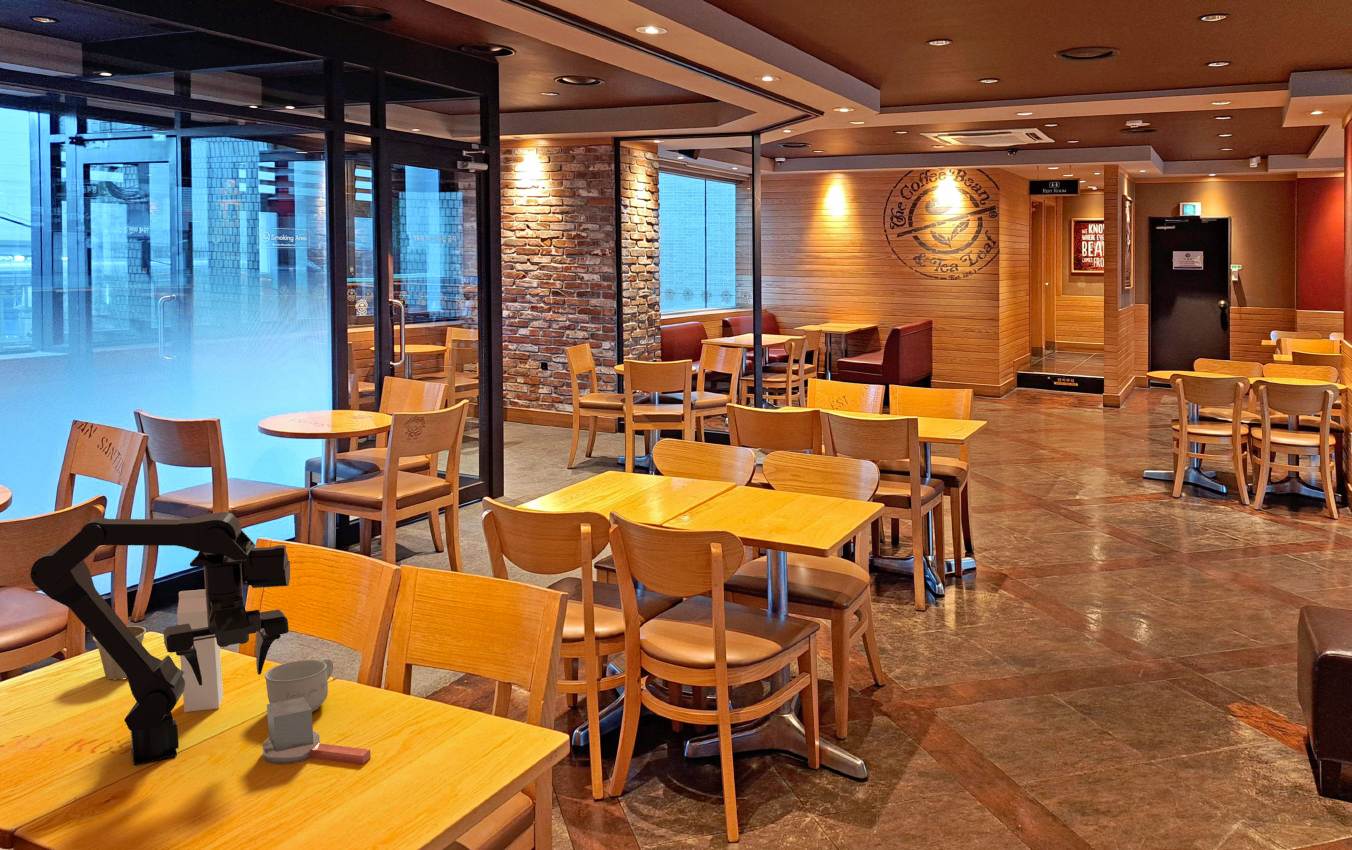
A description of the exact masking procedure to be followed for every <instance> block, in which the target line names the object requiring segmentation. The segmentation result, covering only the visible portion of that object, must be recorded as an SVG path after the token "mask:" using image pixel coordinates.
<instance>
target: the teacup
mask: <svg viewBox="0 0 1352 850" xmlns="http://www.w3.org/2000/svg"><path fill="white" fill-rule="evenodd" d="M333 672H334V663H333V661H332V659H331V658H329V657H321V658H319V659H318V660H317V659H301V660H292V661H288V662H284V663H281V664H277V665H275V666H273V667H271V668H269V669H268V670H267V671H265V673H264V679H265V683H266V684H265V685H266V692H267V699H268V702H269V703H268V704H272V703H277V702H282V701H287V700H292V699H297V698H302V697H304V698H305V700H306V701H307V703H308V704H309V706H310V708H311V709H312V713H313V712H315V711H316V710H318V709H319V708H320V707H321V705H322V704H323V703H324V702H325V701H326V699H327V697H328V695H329V693H328V692H329V685H328V684H329V682H328V681H329V680H330V677H331V676H332V674H333Z"/></svg>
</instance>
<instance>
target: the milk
mask: <svg viewBox="0 0 1352 850" xmlns="http://www.w3.org/2000/svg"><path fill="white" fill-rule="evenodd" d="M177 604H178V606H177V611H176V612H177V613H176V615H177V616H176V617H177V618H176V619H177V625H183V624H190V627H191V629H198V628H205V627H208V621H207V607H206V593H205V588H204V589H196V590H195V589H194V590H193V589H192V590H181V591H178V603H177ZM194 646H195V649H196V651H197V658H198V663H199V667H200V672H201V676H202V685H201V686H200V685H199V683H198V681H197V679H196V676H195V674H194V672H193V669H192V667H191V665H190V664H189V662H188V661H187V659H186V658H185V657H184V656H183V655H182V656H179V658H180V659H179V660H180V670H182V671H184V673H183V675H182V677H183V679H184V681H185V688H184V692H183V693H182V698H183V700H182V701H183V711H184V713H189V712H190V713H191V712H198V711H209V710H217V709H220V706H221V703H222V702H223V697H224V688H223V687H224V685H223V673H222V672H223V671H222V659H221V656H222V655H221V647H220V646H218V645H217V641H216V638H210V639H203V640H197V641H194Z"/></svg>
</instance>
